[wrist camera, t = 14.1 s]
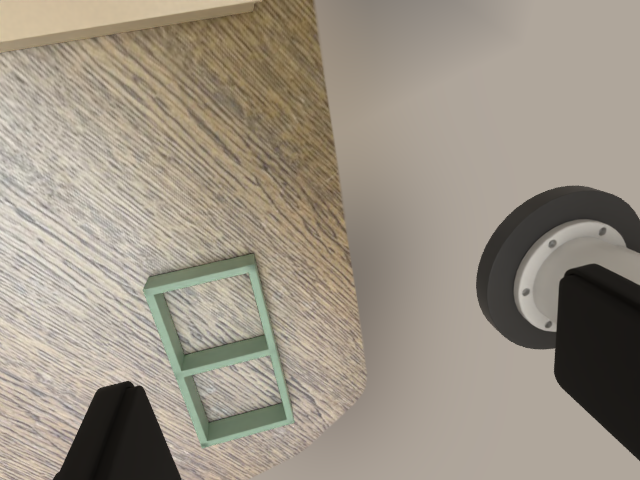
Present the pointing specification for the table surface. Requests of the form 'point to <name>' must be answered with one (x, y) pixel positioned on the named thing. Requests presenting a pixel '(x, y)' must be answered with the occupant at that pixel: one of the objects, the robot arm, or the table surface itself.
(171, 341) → the green rectangular frame
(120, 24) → the beige rectangular box
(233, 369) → the table surface
